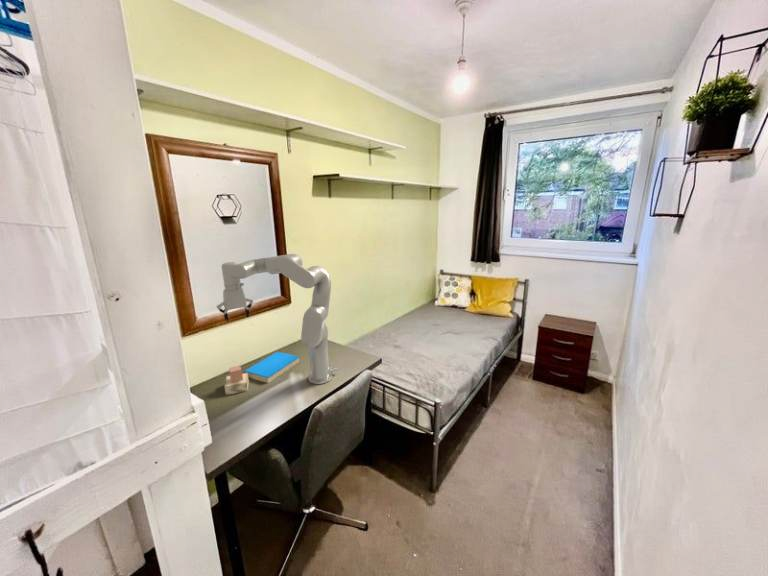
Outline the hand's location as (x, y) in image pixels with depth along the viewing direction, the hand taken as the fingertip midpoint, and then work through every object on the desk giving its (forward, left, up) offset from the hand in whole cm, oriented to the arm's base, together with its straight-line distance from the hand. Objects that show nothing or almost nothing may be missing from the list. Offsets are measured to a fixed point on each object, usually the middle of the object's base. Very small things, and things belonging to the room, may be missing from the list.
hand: (237, 318), depth 167 cm
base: (+6, +12, -33) cm, 35 cm away
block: (+6, +12, -28) cm, 31 cm away
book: (-14, +3, -33) cm, 36 cm away
